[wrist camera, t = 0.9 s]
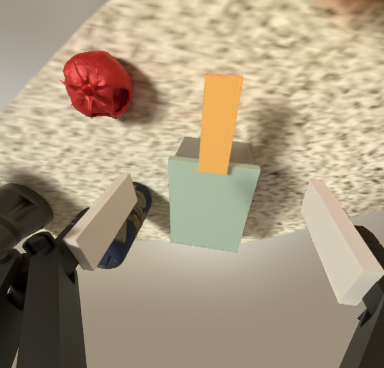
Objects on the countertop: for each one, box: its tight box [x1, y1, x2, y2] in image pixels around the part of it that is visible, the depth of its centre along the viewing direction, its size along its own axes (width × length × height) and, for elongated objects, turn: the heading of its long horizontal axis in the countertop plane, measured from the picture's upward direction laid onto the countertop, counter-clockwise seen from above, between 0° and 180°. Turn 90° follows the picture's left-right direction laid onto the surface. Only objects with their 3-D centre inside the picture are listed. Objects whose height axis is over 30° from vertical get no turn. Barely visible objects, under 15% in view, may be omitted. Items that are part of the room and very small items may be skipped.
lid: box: [168, 73, 261, 253], centre depth 30 cm, size 13×30×2 cm, turn 177°
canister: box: [97, 182, 151, 269], centre depth 40 cm, size 10×10×18 cm
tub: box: [175, 137, 254, 165], centre depth 38 cm, size 12×18×9 cm, turn 177°
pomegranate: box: [60, 51, 133, 119], centre depth 30 cm, size 10×10×9 cm
